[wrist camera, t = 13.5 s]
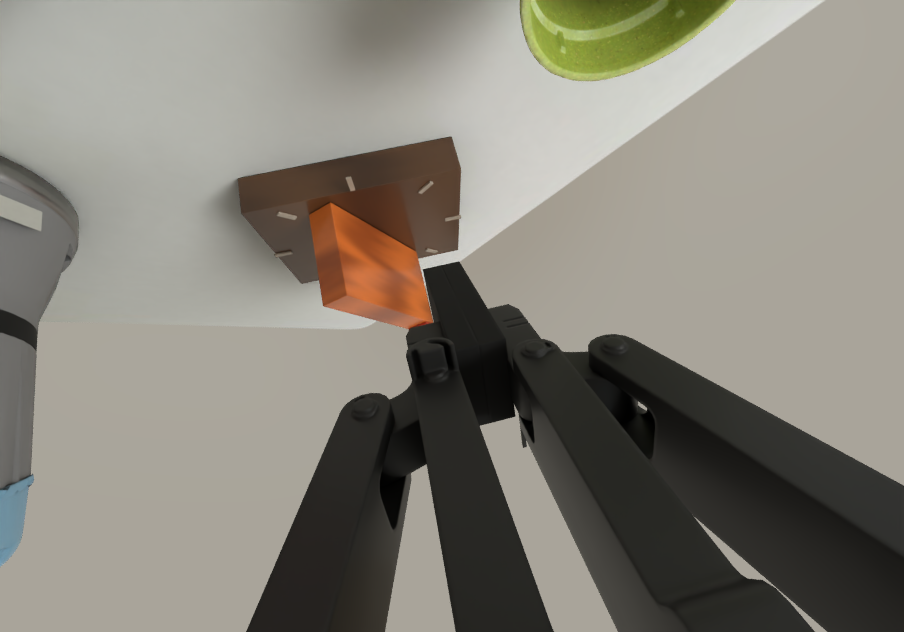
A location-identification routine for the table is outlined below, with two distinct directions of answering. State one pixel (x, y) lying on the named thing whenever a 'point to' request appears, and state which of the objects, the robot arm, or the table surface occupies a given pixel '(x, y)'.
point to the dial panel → (360, 200)
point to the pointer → (367, 270)
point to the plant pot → (611, 33)
